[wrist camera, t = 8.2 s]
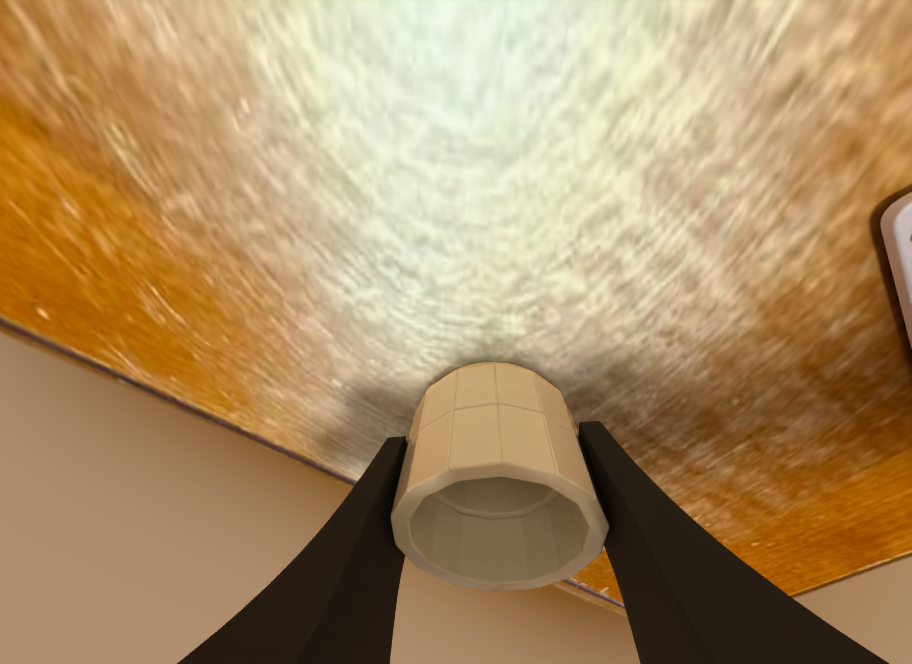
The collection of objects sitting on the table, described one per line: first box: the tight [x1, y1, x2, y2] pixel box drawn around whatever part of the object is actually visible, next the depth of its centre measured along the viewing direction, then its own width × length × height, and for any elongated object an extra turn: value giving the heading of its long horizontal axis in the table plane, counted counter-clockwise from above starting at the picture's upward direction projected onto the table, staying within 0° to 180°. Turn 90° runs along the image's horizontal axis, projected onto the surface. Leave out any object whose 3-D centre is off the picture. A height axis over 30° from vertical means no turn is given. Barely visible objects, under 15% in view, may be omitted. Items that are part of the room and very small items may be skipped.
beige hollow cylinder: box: [390, 362, 609, 591], centre depth 11 cm, size 6×6×4 cm
